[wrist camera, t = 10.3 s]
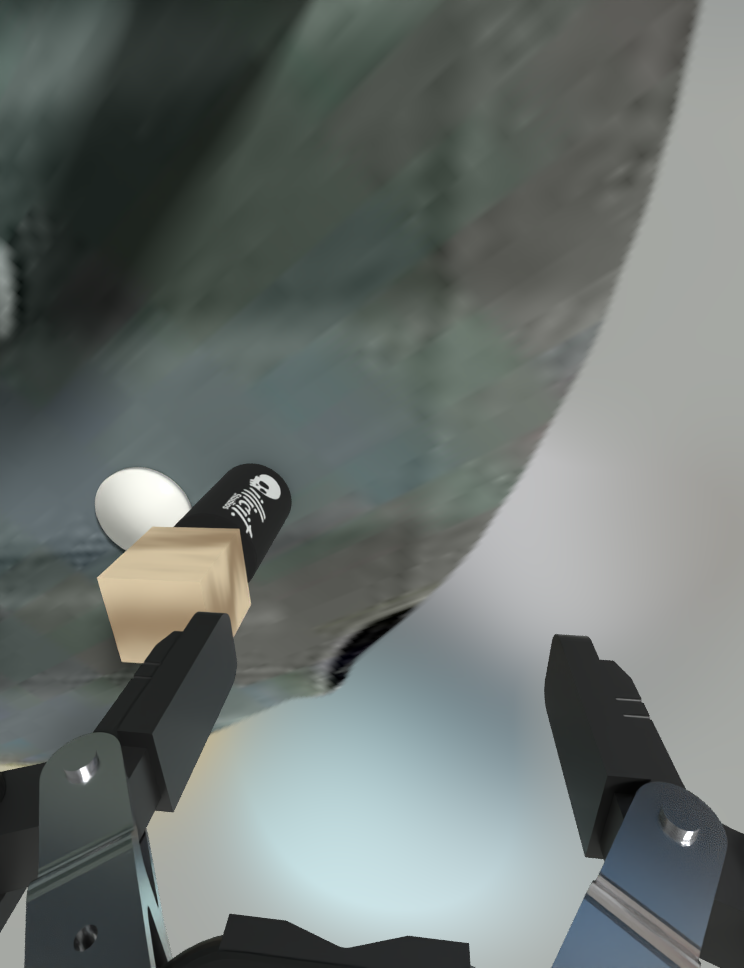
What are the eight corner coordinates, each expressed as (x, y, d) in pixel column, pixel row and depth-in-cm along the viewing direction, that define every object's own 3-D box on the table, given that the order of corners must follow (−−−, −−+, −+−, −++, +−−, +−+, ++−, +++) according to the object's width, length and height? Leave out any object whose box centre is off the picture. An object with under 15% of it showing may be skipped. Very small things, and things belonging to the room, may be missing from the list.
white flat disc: (91, 466, 45) (84, 470, 44) (184, 467, 44) (179, 471, 43) (113, 550, 49) (107, 556, 48) (200, 554, 48) (196, 559, 47)
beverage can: (308, 494, 44) (268, 567, 33) (265, 539, 46) (214, 621, 36) (250, 445, 43) (189, 505, 32) (209, 494, 45) (138, 565, 34)
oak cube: (152, 526, 33) (96, 577, 27) (239, 528, 32) (200, 581, 27) (169, 600, 35) (121, 661, 30) (250, 604, 35) (217, 667, 29)
